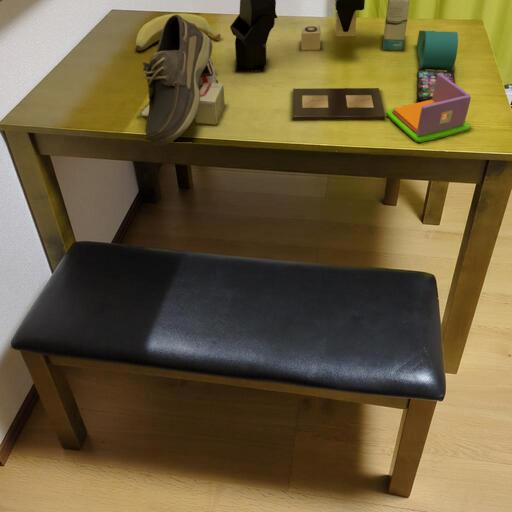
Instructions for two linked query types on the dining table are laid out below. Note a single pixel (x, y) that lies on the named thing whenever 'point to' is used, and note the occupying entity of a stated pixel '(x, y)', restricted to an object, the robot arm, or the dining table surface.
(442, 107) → the miniature room corner
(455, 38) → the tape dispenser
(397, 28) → the ink box
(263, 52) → the robot arm
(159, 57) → the boat shoe
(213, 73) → the toy car
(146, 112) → the soap
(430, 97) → the smartphone
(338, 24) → the tile
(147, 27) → the banana
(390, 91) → the dining table surface
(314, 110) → the word board
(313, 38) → the tile
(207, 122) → the small box
